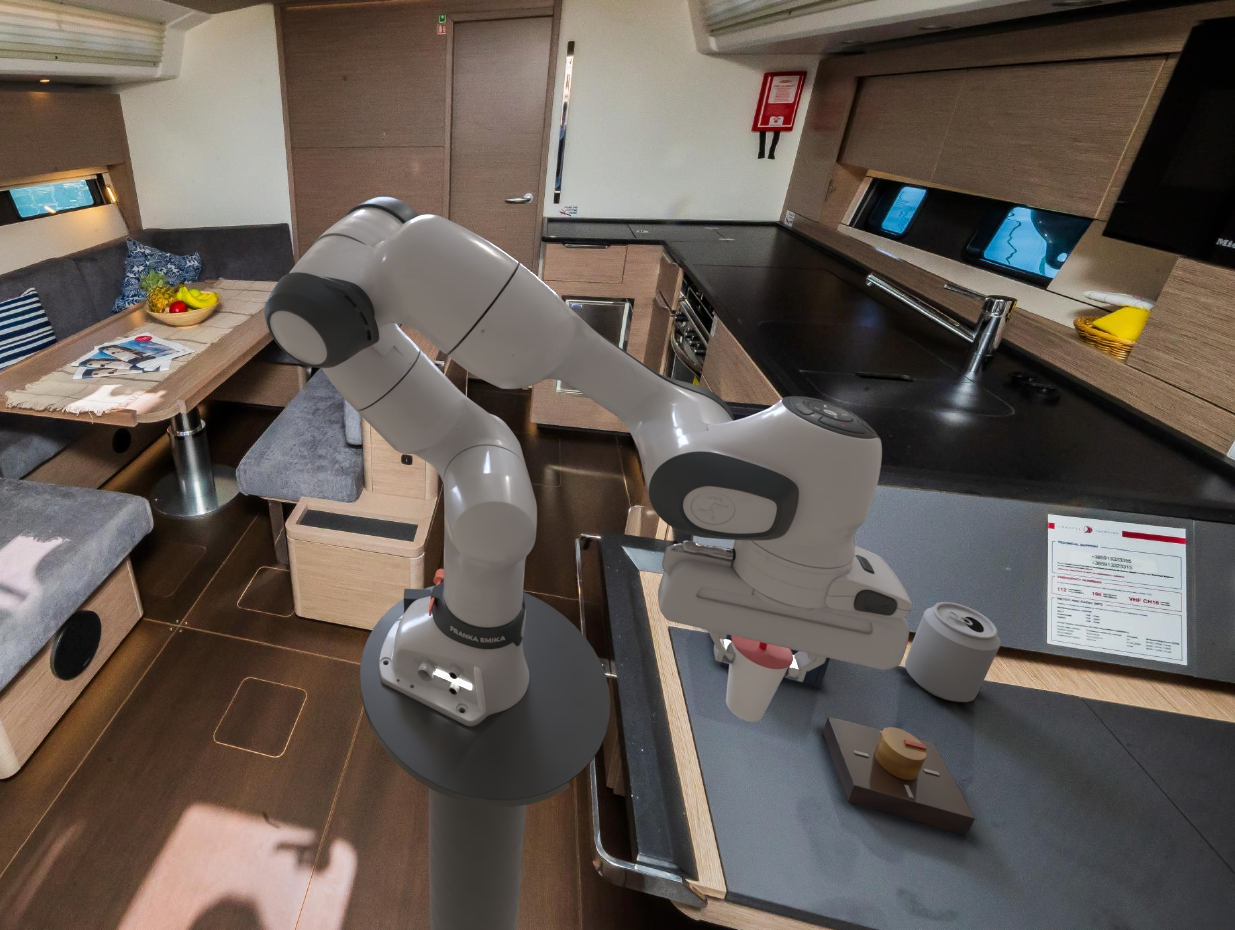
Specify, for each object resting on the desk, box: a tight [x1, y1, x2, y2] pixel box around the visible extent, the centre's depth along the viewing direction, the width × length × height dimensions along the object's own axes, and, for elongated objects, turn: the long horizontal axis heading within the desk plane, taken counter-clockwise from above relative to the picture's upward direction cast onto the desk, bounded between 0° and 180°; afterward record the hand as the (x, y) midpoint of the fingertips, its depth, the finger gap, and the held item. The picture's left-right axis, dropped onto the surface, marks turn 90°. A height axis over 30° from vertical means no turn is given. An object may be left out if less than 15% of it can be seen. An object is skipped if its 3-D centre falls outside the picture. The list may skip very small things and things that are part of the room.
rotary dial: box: [822, 716, 976, 836], centre depth 69 cm, size 11×9×3 cm
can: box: [904, 601, 1002, 703], centre depth 79 cm, size 8×8×12 cm
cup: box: [725, 635, 793, 723], centre depth 60 cm, size 5×5×12 cm
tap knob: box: [874, 726, 927, 780], centre depth 68 cm, size 4×4×4 cm
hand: (756, 666), depth 60 cm, fingers closed on cup, 5 cm apart
